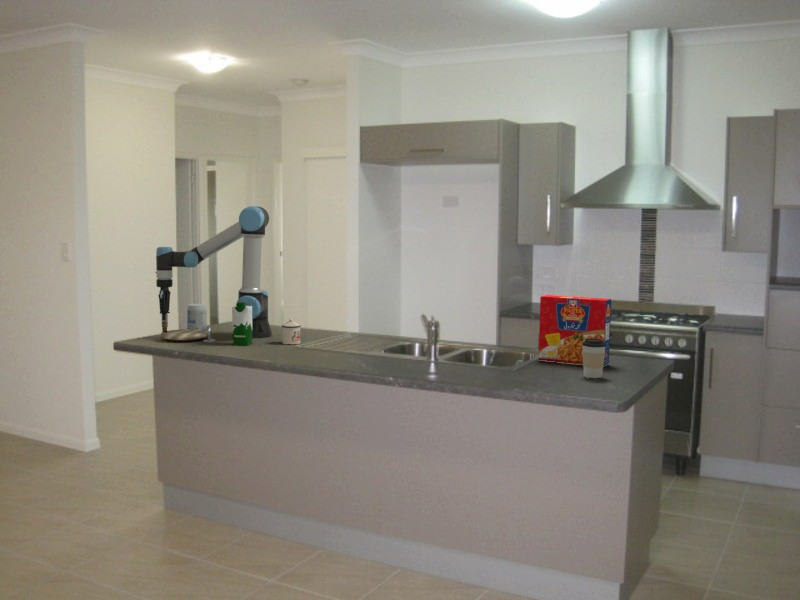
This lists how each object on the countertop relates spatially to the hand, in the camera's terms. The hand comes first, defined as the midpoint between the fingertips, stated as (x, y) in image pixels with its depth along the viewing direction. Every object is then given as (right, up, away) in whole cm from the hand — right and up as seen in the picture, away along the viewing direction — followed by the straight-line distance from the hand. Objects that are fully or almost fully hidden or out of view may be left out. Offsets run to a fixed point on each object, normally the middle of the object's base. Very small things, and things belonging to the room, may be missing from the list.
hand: (164, 326), depth 399 cm
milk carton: (+41, -8, -14) cm, 44 cm away
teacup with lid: (+64, -8, -9) cm, 65 cm away
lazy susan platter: (+10, -5, -2) cm, 12 cm away
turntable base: (+10, -6, -2) cm, 12 cm away
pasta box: (+188, -14, -54) cm, 196 cm away
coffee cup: (+190, -17, -83) cm, 208 cm away
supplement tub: (+11, -4, +19) cm, 23 cm away
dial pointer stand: (+23, -7, -8) cm, 25 cm away
